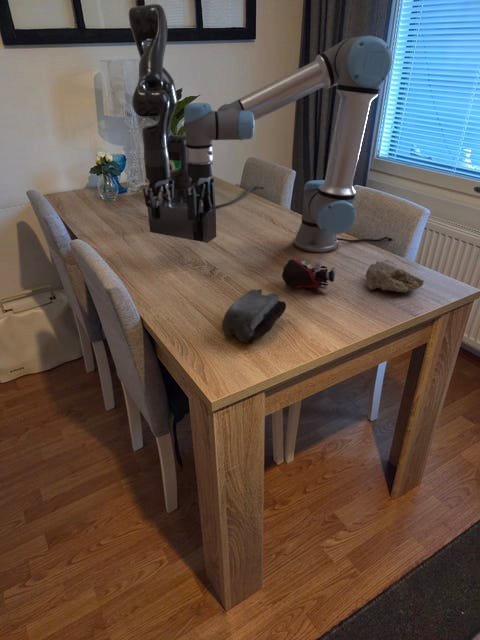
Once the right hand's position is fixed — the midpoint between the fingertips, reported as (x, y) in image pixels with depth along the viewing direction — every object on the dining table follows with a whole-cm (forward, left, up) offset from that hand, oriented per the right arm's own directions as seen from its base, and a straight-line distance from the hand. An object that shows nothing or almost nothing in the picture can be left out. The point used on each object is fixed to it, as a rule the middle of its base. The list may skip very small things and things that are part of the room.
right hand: (203, 236), depth 142 cm
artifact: (-46, +36, -10) cm, 60 cm away
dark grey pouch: (+2, +41, -10) cm, 43 cm away
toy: (-22, +29, -10) cm, 37 cm away
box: (+5, -6, 0) cm, 8 cm away
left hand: (+10, -12, +5) cm, 16 cm away
